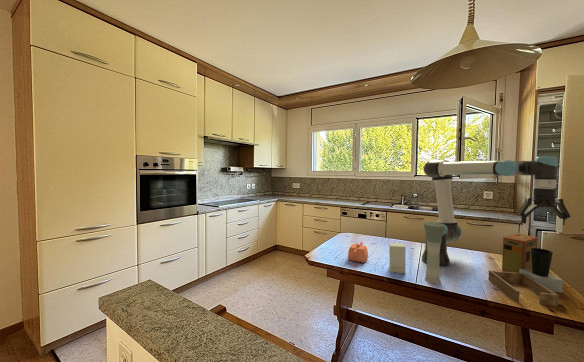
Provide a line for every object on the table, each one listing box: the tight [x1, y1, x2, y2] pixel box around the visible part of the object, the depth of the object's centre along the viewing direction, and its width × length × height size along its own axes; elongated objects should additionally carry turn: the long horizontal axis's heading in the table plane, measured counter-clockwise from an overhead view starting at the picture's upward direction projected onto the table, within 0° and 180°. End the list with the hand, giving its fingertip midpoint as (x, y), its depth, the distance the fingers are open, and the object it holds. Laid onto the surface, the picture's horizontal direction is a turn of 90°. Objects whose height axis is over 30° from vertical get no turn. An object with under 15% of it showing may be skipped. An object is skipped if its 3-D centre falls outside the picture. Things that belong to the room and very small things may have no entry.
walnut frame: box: [487, 270, 560, 308], centre depth 114 cm, size 15×22×5 cm
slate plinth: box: [519, 269, 564, 294], centre depth 120 cm, size 11×11×6 cm
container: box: [423, 221, 445, 284], centre depth 125 cm, size 10×10×30 cm
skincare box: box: [388, 242, 406, 275], centre depth 137 cm, size 8×7×16 cm
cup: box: [531, 247, 554, 277], centre depth 119 cm, size 8×8×12 cm
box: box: [501, 233, 539, 273], centre depth 136 cm, size 17×9×20 cm, turn 117°
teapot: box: [347, 241, 369, 264], centre depth 155 cm, size 12×18×10 cm, turn 149°
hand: (541, 230), depth 118 cm, fingers open, 13 cm apart
